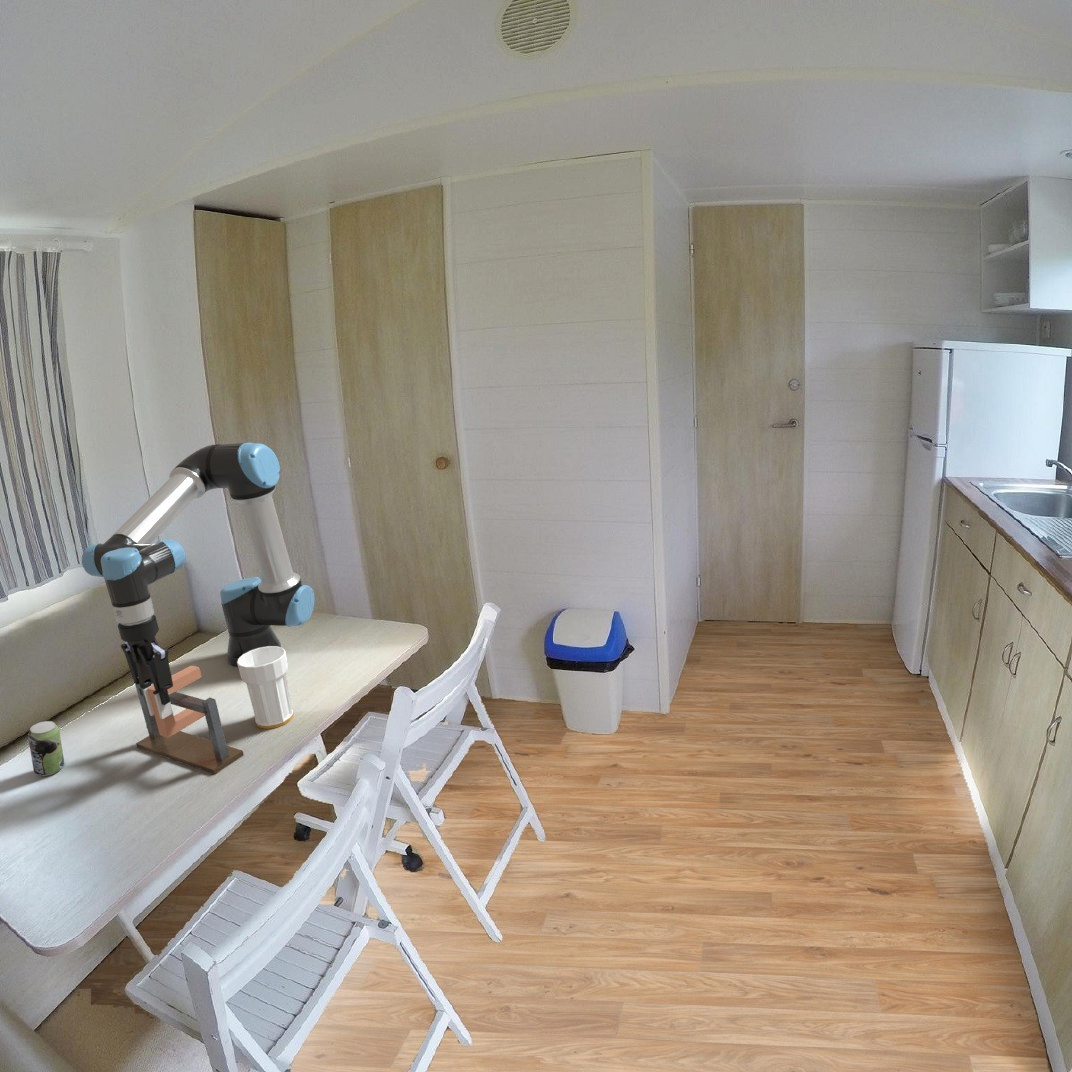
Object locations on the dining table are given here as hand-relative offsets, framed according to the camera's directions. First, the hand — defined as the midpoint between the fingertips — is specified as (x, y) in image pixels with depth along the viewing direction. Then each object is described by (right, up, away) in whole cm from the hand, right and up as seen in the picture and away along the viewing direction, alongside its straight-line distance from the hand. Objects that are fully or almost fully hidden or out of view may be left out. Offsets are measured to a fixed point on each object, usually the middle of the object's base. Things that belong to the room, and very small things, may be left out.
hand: (161, 714), depth 174 cm
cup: (+19, -6, +18) cm, 27 cm away
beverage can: (-27, -14, +4) cm, 31 cm away
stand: (+3, -10, +7) cm, 13 cm away
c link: (+3, -4, +6) cm, 7 cm away
